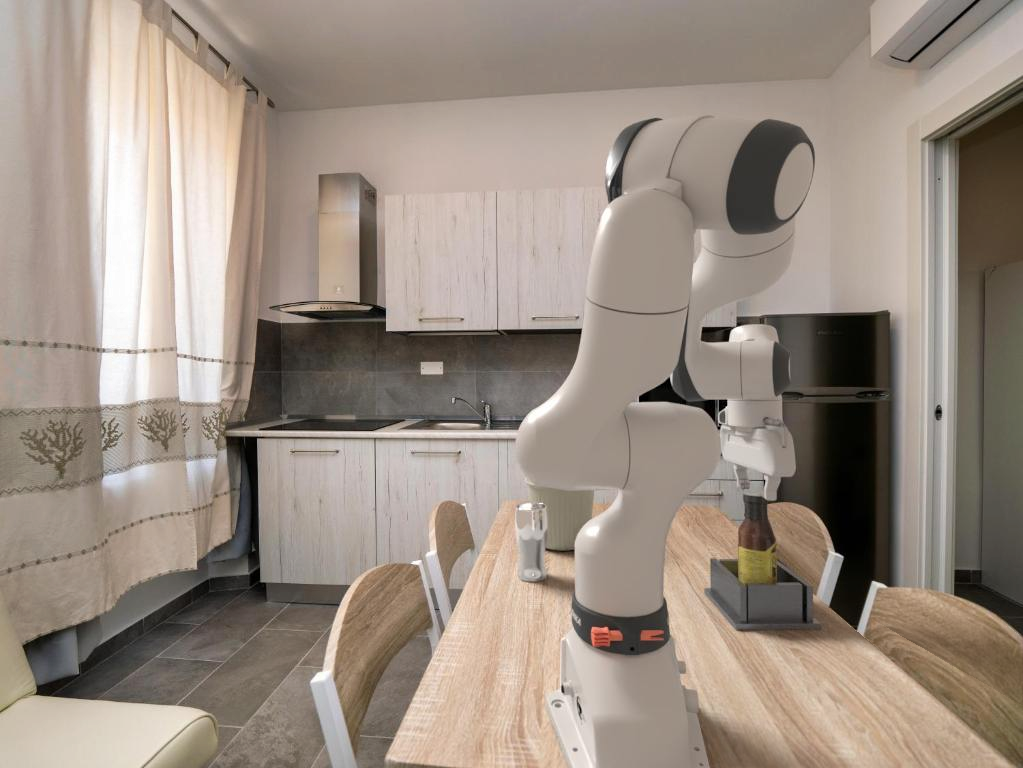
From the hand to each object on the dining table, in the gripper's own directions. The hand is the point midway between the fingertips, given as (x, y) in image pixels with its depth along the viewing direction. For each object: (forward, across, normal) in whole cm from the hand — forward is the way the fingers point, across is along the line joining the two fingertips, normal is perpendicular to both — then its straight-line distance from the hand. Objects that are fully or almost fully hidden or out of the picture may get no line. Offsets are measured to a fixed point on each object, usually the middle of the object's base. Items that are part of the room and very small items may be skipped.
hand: (755, 493), depth 90 cm
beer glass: (+21, +17, +40) cm, 48 cm away
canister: (+20, +37, +31) cm, 52 cm away
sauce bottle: (+20, 0, 0) cm, 20 cm away
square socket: (+21, 0, 0) cm, 21 cm away
